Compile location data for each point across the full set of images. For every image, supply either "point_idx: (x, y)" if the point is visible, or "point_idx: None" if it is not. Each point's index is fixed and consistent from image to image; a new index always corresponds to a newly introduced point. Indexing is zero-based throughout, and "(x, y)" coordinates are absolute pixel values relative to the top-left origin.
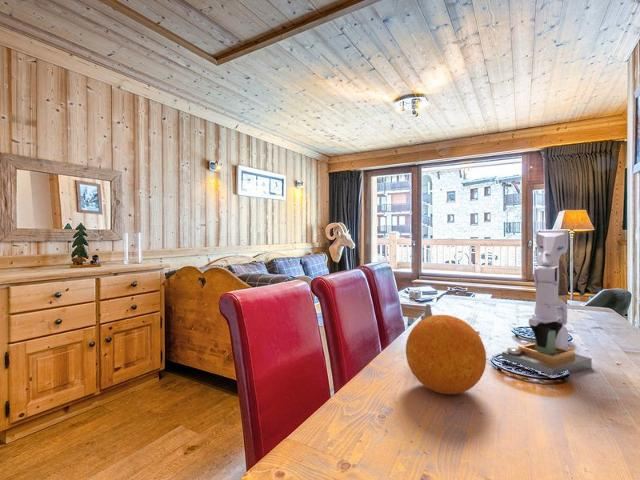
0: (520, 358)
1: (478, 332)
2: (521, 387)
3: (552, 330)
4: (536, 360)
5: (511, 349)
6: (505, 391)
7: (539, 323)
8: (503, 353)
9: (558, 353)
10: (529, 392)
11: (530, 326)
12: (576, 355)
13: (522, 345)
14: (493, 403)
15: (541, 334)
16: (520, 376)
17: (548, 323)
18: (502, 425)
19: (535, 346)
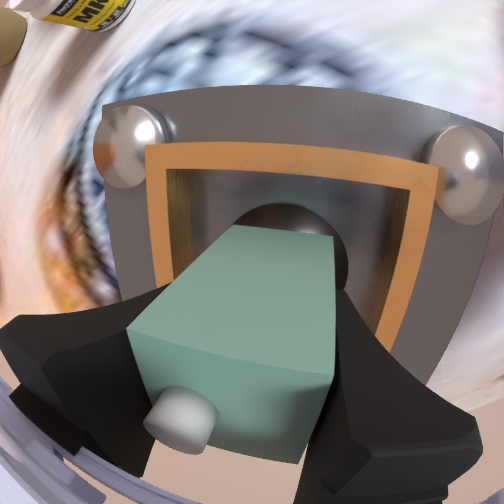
0: (109, 213)
1: (25, 3)
2: (55, 286)
3: (276, 452)
4: (147, 275)
5: (109, 139)
6: (28, 273)
7: (44, 436)
8: (106, 113)
9: (372, 308)
10: (57, 306)
11: (28, 321)
12: (425, 355)
13: (189, 144)
14: (8, 281)
15: None
16: (84, 251)
17: (311, 499)
18: (7, 311)
19: (222, 237)
